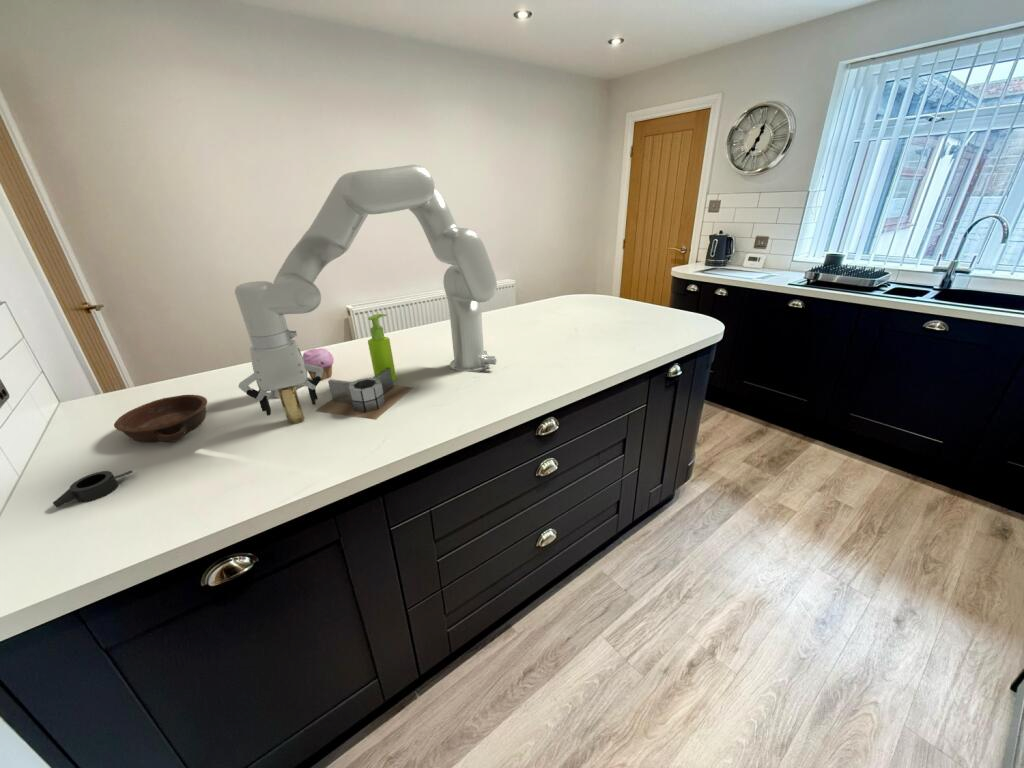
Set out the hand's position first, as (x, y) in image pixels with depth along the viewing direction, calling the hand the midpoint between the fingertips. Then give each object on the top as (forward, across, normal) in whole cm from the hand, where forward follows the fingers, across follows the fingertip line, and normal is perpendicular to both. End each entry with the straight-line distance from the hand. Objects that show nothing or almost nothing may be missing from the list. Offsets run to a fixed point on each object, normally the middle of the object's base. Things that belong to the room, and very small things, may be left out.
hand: (292, 407), depth 93 cm
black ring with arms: (+5, +34, +8) cm, 36 cm away
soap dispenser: (+5, -25, -14) cm, 29 cm away
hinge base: (+4, -17, -3) cm, 18 cm away
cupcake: (+5, -8, -25) cm, 26 cm away
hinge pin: (+5, 0, 0) cm, 5 cm away
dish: (+5, +28, -15) cm, 32 cm away
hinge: (+3, -17, -4) cm, 18 cm away
